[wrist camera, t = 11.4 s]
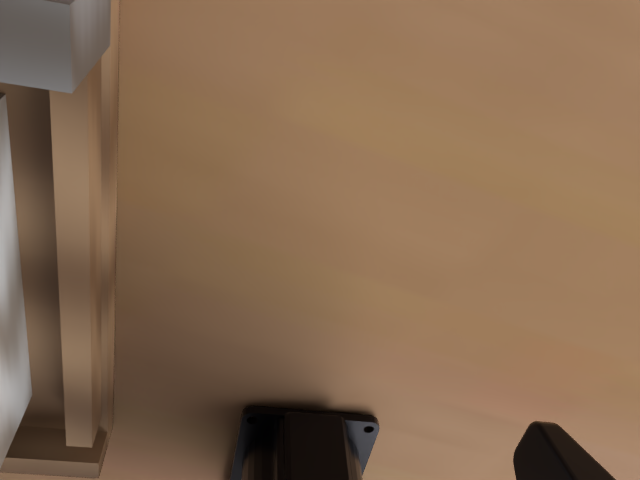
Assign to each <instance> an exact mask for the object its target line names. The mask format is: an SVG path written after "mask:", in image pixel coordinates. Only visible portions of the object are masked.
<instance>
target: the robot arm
mask: <svg viewBox="0 0 640 480" xmlns="http://www.w3.org/2000/svg"><path fill="white" fill-rule="evenodd" d="M378 432H379V423H378V420H377V418H376V417H374V416H370V415H358V414H345V413H333V412H321V411H309V410H297V409H284V408H272V407H260V406H249V407H246V408H245V409H243V411H242V414H241V420H240V425H239V431H238V436H237V441H236V447H235V452H234V458H233V463H232V469H231V474H230V480H362V475H363V472H364V469H365V467H366V464H367V461H368V459H369V456H370V453H371V450H372V448H373V445H374V442H375V440H376V437H377V434H378ZM513 462H514V469H515V475H516V480H616V479H615V478H614V477H613V476H611V475H610V474H609V473H608V472H607V471H606V470H605V469H604V468H603V467H602V466H601V465H600V464H599V463H598V462H597V461H596V460H595V459H594V458H593V457H592V456H591V455H590V454H588V453H587V452H586V451H585V450H584V449H583V448H582V447H581V446H580V445H579V444H578V443H577V442H576V441H575V440H574V439H573V438H572V437H571V436H570V435H569V434H568V433H566V432H565V431H564V430H563V429H562V428H561V427H560V426H559V425H557V424H555V423H551V422H540V421H535V422H533V423H531V424H530V425H529V426H528V428H527V430H526V432H525V433H524V435H523V437H522V439H521V440H520V442H519V444H518V446H517V447H516V449H515V452H514V458H513Z"/></svg>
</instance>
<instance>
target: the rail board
mask: <svg viewBox="0 0 640 480" xmlns="http://www.w3.org/2000/svg"><path fill="white" fill-rule="evenodd" d="M119 19H120V0H0V472H2V473H18V474H35V475H52V476H68V477H85V478H99V475H100V472H101V468H102V464H103V461H104V457H105V453H106V450H107V446H108V442H109V439H110V435H111V431H112V428H113V404H114V340H115V276H116V212H117V147H118V83H119Z"/></svg>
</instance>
